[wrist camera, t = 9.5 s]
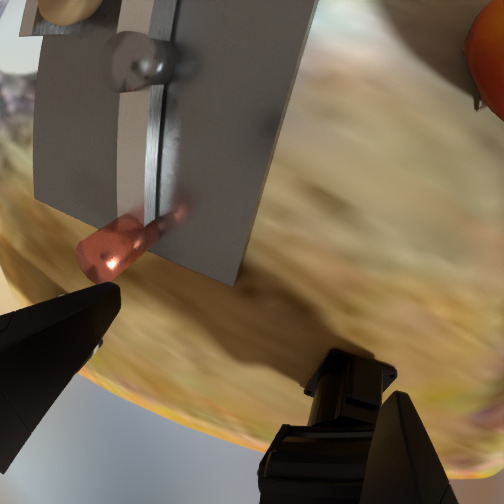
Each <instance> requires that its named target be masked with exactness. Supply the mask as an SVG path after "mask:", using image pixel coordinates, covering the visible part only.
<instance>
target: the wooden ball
mask: <svg viewBox="0 0 504 504" xmlns="http://www.w3.org/2000/svg"><path fill="white" fill-rule="evenodd" d="M102 1H103V0H38V8H39V11H40V13H41V15H42V17H43V18H44V19H45V20H46V21H48V22H49V23H51V24H54V25H58V26H69V25H74V24H77V23H80V22H82V21H83V20H85V19H87V18H88V17H90V16H91V15H92V14H93V13H94V12H95V11H96V10H97V9H98V8H99V6H100V5H101V3H102Z"/></svg>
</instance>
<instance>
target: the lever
mask: <svg viewBox="0 0 504 504" xmlns="http://www.w3.org/2000/svg"><path fill="white" fill-rule="evenodd" d="M176 2H177V0H122V5H121V10H120V16H119V22H118V28H117V34H115V35H114V36H112V37H111V38H110V39H109V40H108V41H107V42H106V44H105V45H104V47H103V48H102V51H101V53H100V56H99V61H98V73H99V77H100V80H101V82H102V83H103V85H104V86H105V87H106V88H107V89H108V90H110V91H112V92H115V93H120V101H119V116H118V137H117V216H118V218H116V219H115V220H113V221H112V222H110V223H108V224H107V225H105V226H104V227H102V228H101V229H99V230H98V231H96V232H95V233H93V234H92V235H90V236H89V237H87V238H86V239H84V240H83V241H81V242H80V243H79V244H78V246H77V249H76V256H77V261H78V263H79V266H80V268H81V269H82V271H83V273H84V274H85V275H86V276H87V277H88V278H89V279H90V280H91V281H93V282H94V283H96V284H101V283H104V282H108V281H110V282H111V281H112V280H113V279H115V278H116V277H117V276H118V275H119V274H120V273H121V272H123V271H124V270H125V269H126V268H127V267H128V266H129V265H131V264H132V263H133V262H134V261H135V260H136V259H138V258H139V257H140V256H141V255H142V254H144V253H145V252H146V251H147V250H148V249H149V248H151V247H152V246H153V245H154V244H155V243H156V242H157V241H158V238H159V227H158V224H157V221H156V220H155V200H156V175H157V157H158V142H159V129H160V117H161V107H162V97H163V88H164V84H166V83H167V82H168V80H169V79H170V78H171V76H172V75H173V72H174V70H175V67H176V60H177V59H176V51H175V48H174V46H173V45H172V43H171V42H170V36H171V30H172V24H173V18H174V13H175V7H176Z"/></svg>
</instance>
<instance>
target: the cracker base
mask: <svg viewBox="0 0 504 504" xmlns="http://www.w3.org/2000/svg"><path fill="white" fill-rule="evenodd" d="M318 1H319V0H177V2H176V7H175V13H174V18H173V24H172V30H171V36H170V42H171V43H172V45H173V46H174V48H175V51H176V59H177V60H176V67H175V70H174V72H173V75H172V76H171V78H170V79H169V80H168V82H167V83H166V84H164V88H163V97H162V107H161V117H160V129H159V142H158V157H157V175H156V200H155V220H156V221H157V224H158V227H159V238H158V241H157V242H156V243H155V244H154V245H153V246H152V247H151V248H149V249H148V250H147V251H149V252H151V253H154V254H156V255H158V256H161V257H163V258H165V259H168V260H170V261H172V262H175V263H177V264H179V265H182V266H184V267H186V268H189V269H191V270H193V271H196V272H198V273H200V274H203V275H205V276H208V277H210V278H212V279H215V280H217V281H220V282H222V283H224V284H227V285H229V286H232V287H234V285H235V284H236V282H237V280H238V277H239V274H240V270H241V267H242V263H243V260H244V256H245V253H246V249H247V246H248V242H249V239H250V235H251V232H252V228H253V225H254V221H255V217H256V214H257V210H258V207H259V203H260V200H261V196H262V193H263V190H264V186H265V183H266V179H267V176H268V172H269V169H270V165H271V162H272V158H273V155H274V151H275V148H276V144H277V141H278V137H279V134H280V130H281V127H282V124H283V120H284V117H285V113H286V110H287V106H288V103H289V99H290V96H291V93H292V89H293V86H294V82H295V79H296V75H297V72H298V69H299V65H300V62H301V58H302V55H303V52H304V48H305V45H306V41H307V38H308V35H309V31H310V28H311V24H312V21H313V18H314V14H315V11H316V8H317V4H318ZM121 5H122V0H103V1H102V3H101V5H100V6H99V8H98V9H97V10H96V11H95V12H94V13H93V14H92V15H91V16H90V17H88V18H87V19H85V20H83V21H82V22H80V23H77V24H74V25H69V26H58V25H54V24H51V23H49V22H48V21H46V20H45V19H44V18H43V17H42V15H41V13H40V11H39V8H38V0H27V1H26V5H25V9H24V13H23V19H22V23H21V28H20V33H19V37H22V36H23V37H24V36H43V41H42V46H41V53H40V59H39V66H38V74H37V83H36V93H35V106H34V124H33V178H34V197H35V199H37V200H39V201H41V202H43V203H45V204H47V205H49V206H51V207H53V208H55V209H57V210H60V211H62V212H64V213H66V214H68V215H70V216H72V217H74V218H76V219H79V220H81V221H83V222H85V223H87V224H89V225H91V226H94V227H96V228H98V229H101V228H102V227H104V226H105V225H107V224H108V223H110V222H112V221H113V220H115V219H116V218H118V216H117V137H118V116H119V101H120V93H115V92H112V91H110V90H108V89H107V88H106V87H105V86H104V85H103V83H102V82H101V80H100V77H99V73H98V61H99V56H100V53H101V51H102V48H103V47H104V45H105V44H106V42H107V41H108V40H109V39H110V38H111V37H112V36H114V35H115V34H117V28H118V22H119V16H120V10H121Z"/></svg>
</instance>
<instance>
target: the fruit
mask: <svg viewBox="0 0 504 504" xmlns="http://www.w3.org/2000/svg"><path fill="white" fill-rule="evenodd" d="M461 50H462V51H464V53H465V56H466V60H467V65H468V68H469V71H470V73H471V75H472V77H473V79H474V81H475V82H476V84H477V87H478V89H479V92H480V95H481V100H482V106H481V107H480V108H479V109H478V110H477V111H478V112H479V111H481V110H483V109H484V108H486V107H487V106H488V107H489V109H490V110H491V111H492V112H493V113H495V114H496V115H497V116H498V117H499V118H500V119H501V120H502V121H504V0H493V1H491V2H490V3H489V4H488V5H487V6H486V7H485V8H484V9H483V10H482V11H481V12H480V14H479V15H478V16H477V17H476V19H475V21H474V23H473V25H472V27H471V29H470V31H469V33H468V36H467V38H466V41H465V43H464V45H463V46H462V48H461Z"/></svg>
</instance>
